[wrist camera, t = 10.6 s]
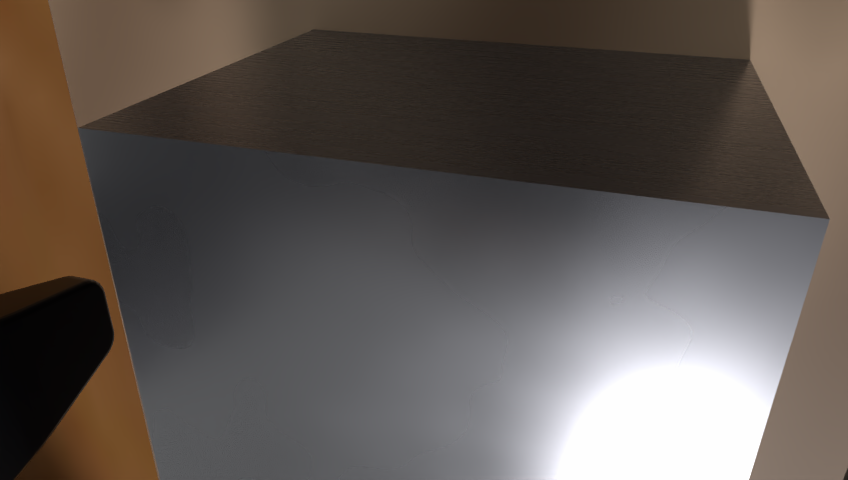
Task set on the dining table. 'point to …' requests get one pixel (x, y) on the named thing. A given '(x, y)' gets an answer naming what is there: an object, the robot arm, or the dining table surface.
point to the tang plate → (565, 27)
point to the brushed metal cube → (456, 261)
